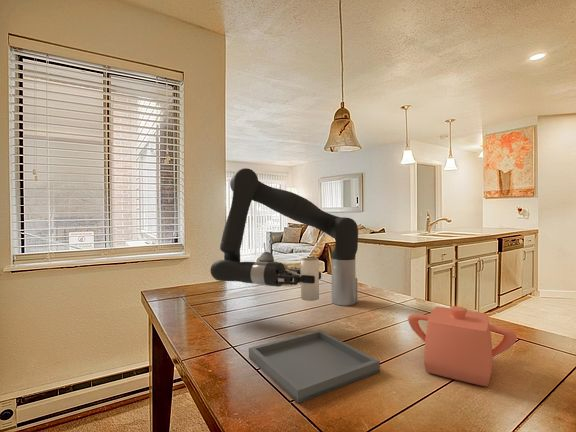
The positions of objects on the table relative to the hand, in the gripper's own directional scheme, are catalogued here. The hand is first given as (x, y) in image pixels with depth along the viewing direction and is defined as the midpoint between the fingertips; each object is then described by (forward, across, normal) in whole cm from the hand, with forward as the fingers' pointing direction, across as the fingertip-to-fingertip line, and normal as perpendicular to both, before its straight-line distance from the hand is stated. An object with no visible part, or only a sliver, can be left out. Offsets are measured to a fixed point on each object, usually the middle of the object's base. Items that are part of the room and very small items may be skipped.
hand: (317, 277), depth 97 cm
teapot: (+37, -8, +16) cm, 41 cm away
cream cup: (-3, 0, +6) cm, 7 cm away
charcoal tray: (+5, -22, +16) cm, 27 cm away
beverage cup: (-42, +48, +16) cm, 66 cm away
